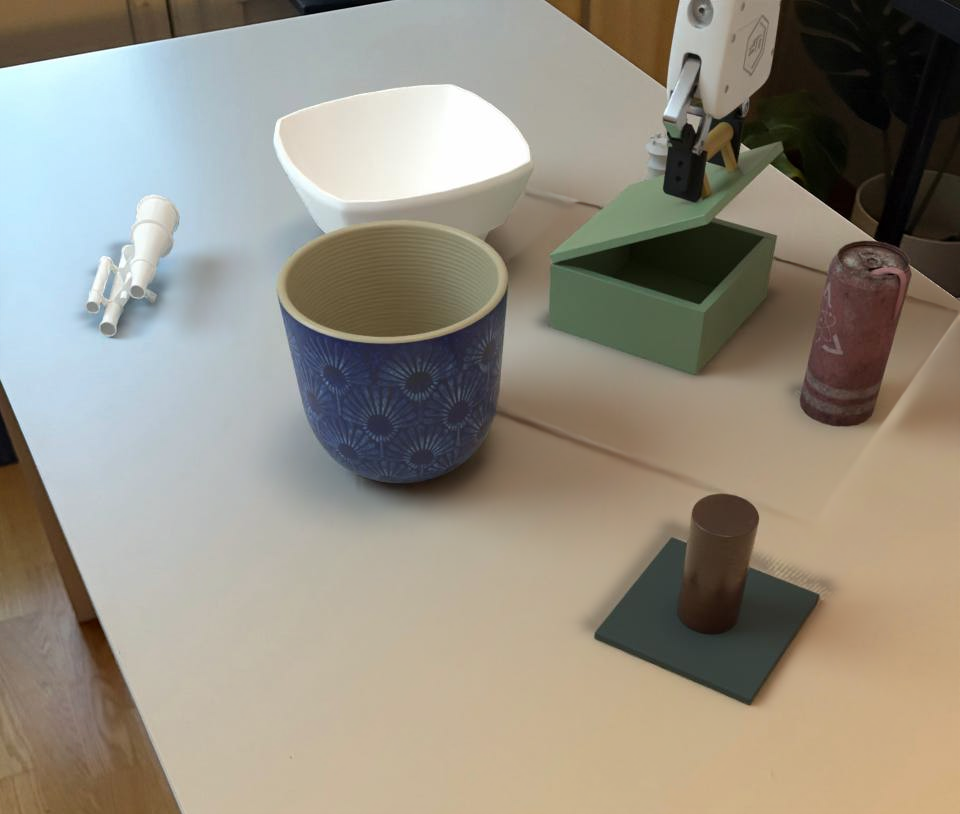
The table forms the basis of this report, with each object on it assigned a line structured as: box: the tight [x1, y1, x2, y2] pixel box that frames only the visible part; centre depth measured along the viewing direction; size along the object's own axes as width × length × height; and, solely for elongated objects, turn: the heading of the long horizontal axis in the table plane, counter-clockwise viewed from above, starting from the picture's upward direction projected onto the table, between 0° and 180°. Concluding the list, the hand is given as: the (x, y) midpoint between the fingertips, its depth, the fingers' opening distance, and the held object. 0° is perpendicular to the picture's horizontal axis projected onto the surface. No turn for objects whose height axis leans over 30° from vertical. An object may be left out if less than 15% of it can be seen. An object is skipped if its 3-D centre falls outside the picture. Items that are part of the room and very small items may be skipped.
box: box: [548, 217, 778, 376], centre depth 110 cm, size 15×15×7 cm
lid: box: [549, 122, 784, 264], centre depth 103 cm, size 16×15×5 cm
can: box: [799, 240, 913, 428], centre depth 97 cm, size 6×6×14 cm
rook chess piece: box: [645, 131, 668, 180], centre depth 122 cm, size 4×4×8 cm
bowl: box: [272, 83, 535, 242], centre depth 115 cm, size 22×22×12 cm
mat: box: [594, 536, 821, 706], centre depth 87 cm, size 12×12×1 cm
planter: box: [276, 220, 509, 484], centre depth 95 cm, size 17×17×15 cm
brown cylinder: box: [677, 493, 760, 634], centre depth 83 cm, size 4×4×9 cm
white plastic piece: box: [84, 194, 181, 338], centre depth 114 cm, size 8×14×5 cm
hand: (700, 177), depth 101 cm, fingers closed on lid, 6 cm apart
